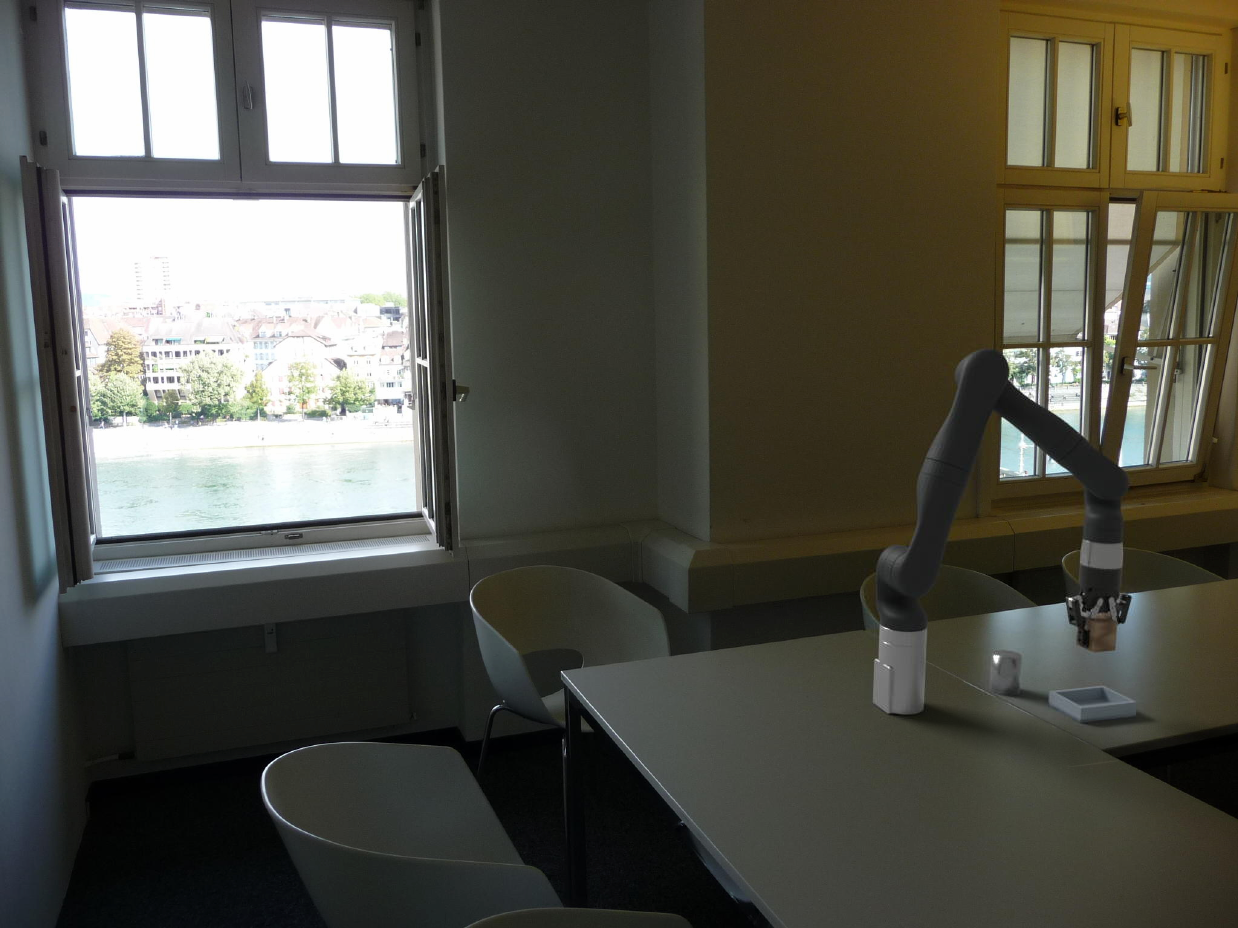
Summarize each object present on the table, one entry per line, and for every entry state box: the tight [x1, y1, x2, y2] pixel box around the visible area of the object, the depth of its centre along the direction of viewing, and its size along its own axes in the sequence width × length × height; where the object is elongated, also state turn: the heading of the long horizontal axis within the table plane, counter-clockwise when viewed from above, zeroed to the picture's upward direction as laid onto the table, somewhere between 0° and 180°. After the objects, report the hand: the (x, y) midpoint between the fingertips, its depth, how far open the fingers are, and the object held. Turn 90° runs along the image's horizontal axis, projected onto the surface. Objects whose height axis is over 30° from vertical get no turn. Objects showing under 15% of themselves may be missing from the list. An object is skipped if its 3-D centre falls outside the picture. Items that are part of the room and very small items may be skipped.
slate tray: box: [1048, 685, 1138, 724], centre depth 192 cm, size 13×9×3 cm
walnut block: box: [1075, 613, 1118, 653], centre depth 190 cm, size 5×5×6 cm
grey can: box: [989, 649, 1023, 697], centre depth 203 cm, size 6×6×8 cm
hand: (1095, 645), depth 190 cm, fingers closed on walnut block, 5 cm apart
